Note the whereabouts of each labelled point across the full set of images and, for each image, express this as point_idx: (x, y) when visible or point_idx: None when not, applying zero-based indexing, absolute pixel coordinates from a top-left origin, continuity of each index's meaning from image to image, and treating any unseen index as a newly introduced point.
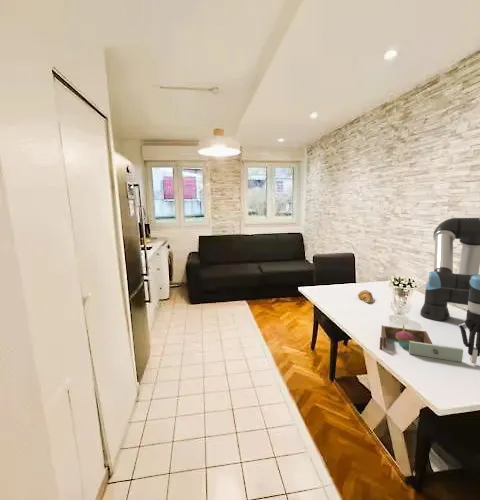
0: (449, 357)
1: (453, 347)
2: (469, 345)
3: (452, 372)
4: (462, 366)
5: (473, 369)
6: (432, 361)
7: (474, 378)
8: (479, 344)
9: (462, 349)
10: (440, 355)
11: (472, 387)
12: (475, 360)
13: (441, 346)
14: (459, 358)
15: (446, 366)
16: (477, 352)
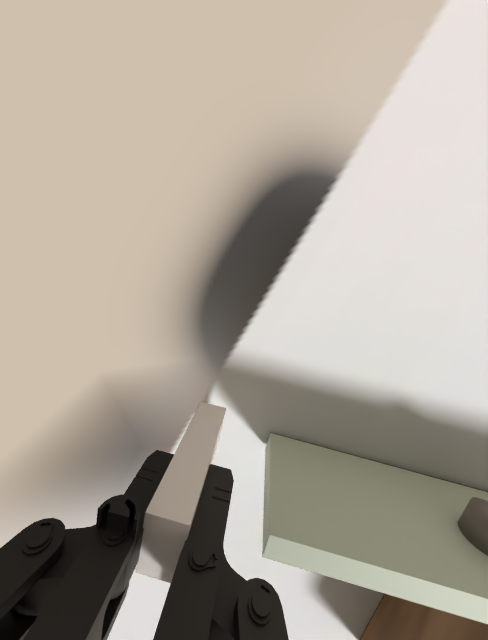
0: (351, 470)
1: (343, 578)
2: (218, 608)
3: (429, 300)
4: (295, 386)
5: (242, 356)
6: (482, 435)
7: (309, 238)
8: (67, 631)
9: (272, 542)
10: (414, 492)
11: (414, 91)
12: (200, 419)
13: (472, 600)
14: (288, 456)
15: (418, 377)
16: (161, 482)
